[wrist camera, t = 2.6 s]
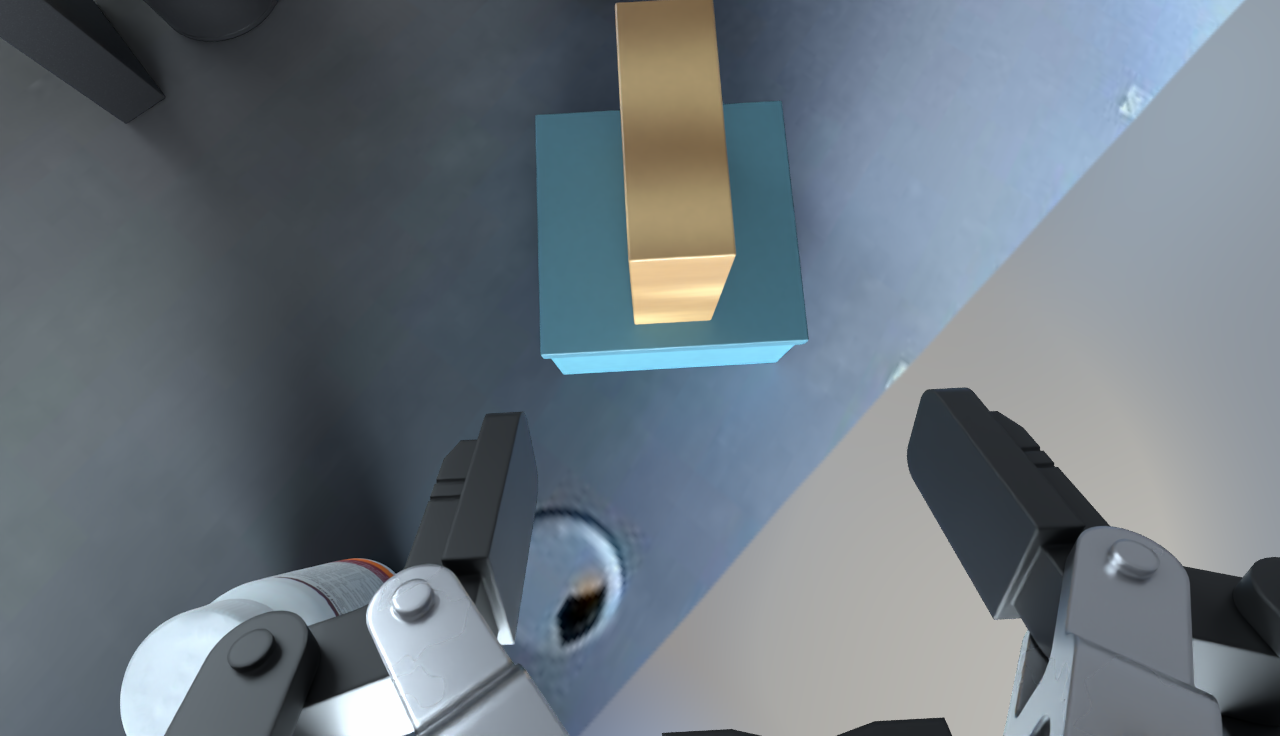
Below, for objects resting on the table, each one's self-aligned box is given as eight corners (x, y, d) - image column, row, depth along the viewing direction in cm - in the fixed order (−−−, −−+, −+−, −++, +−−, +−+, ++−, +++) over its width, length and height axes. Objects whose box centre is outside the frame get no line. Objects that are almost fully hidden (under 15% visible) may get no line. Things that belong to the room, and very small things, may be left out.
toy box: (553, 175, 35) (534, 114, 30) (759, 163, 35) (782, 99, 30) (559, 378, 33) (540, 355, 27) (780, 366, 33) (809, 340, 27)
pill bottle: (356, 708, 30) (184, 840, 19) (274, 623, 31) (62, 702, 20) (440, 610, 31) (324, 681, 20) (359, 530, 32) (202, 556, 21)
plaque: (623, 130, 29) (614, 1, 21) (696, 126, 29) (713, -4, 21) (634, 325, 27) (628, 261, 20) (711, 320, 27) (736, 255, 20)
